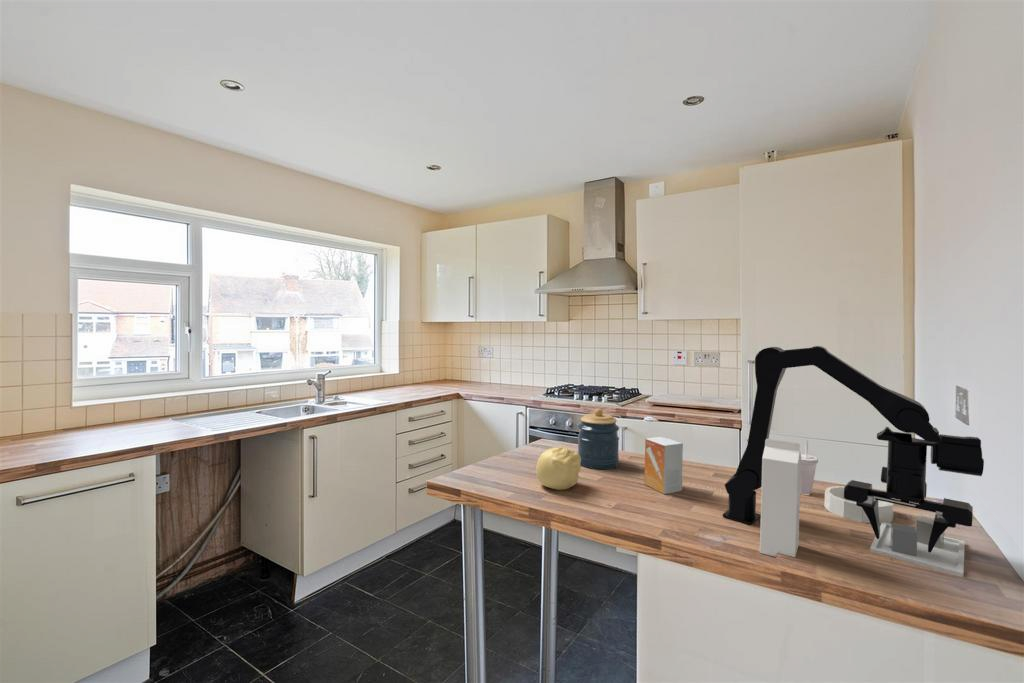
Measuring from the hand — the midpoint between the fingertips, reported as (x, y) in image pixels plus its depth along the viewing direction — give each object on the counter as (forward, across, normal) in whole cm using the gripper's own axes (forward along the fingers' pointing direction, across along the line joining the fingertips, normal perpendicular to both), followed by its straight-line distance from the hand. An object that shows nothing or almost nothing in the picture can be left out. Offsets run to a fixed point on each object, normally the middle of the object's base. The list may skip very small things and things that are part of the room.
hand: (903, 544), depth 91 cm
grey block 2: (+1, -4, -8) cm, 9 cm away
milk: (+2, +18, +16) cm, 23 cm away
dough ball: (+2, +72, +18) cm, 74 cm away
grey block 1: (+1, 0, 0) cm, 1 cm away
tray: (+2, -2, -4) cm, 5 cm away
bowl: (+2, +10, -16) cm, 19 cm away
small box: (+2, +50, -2) cm, 51 cm away
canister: (+2, +76, -7) cm, 76 cm away
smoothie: (+2, +22, -24) cm, 33 cm away
